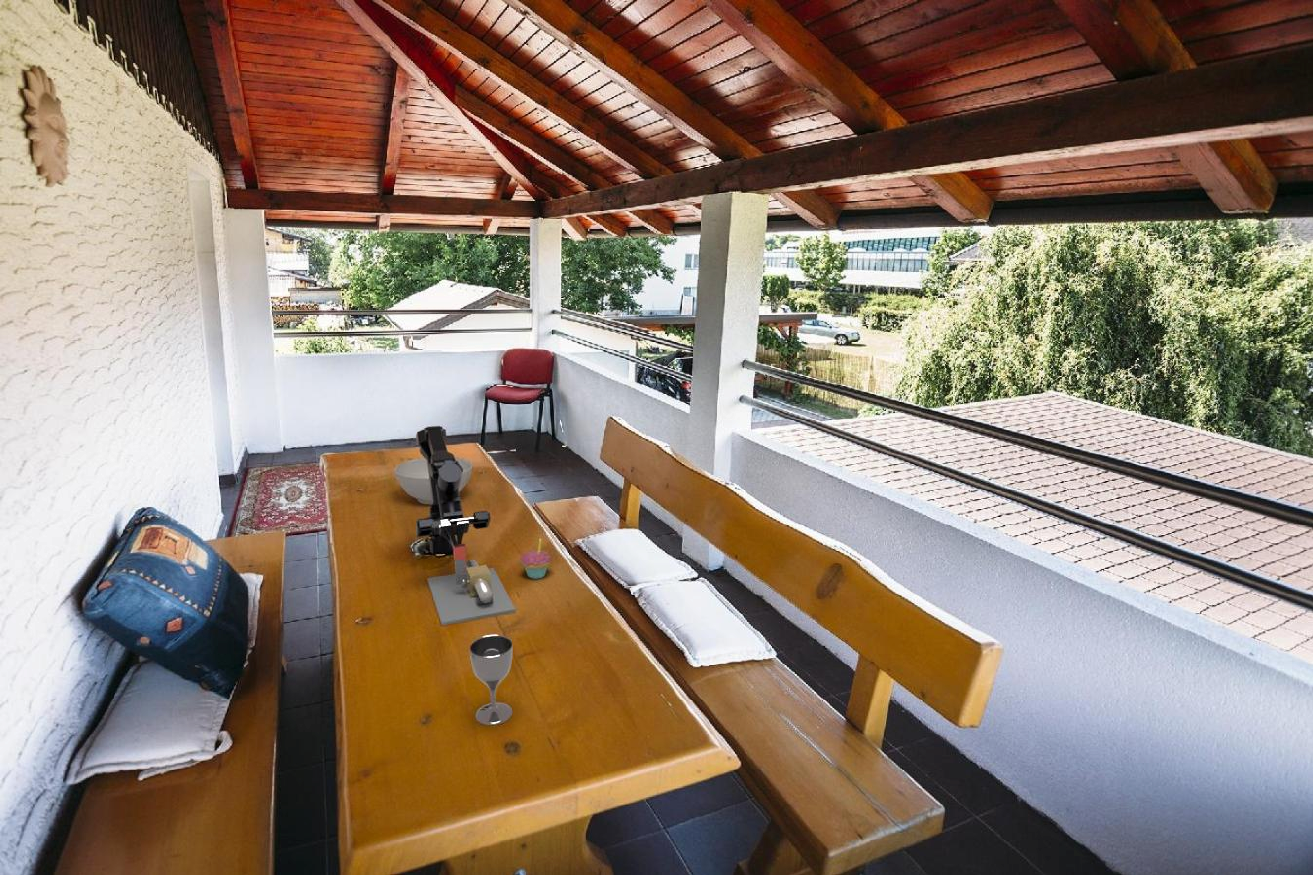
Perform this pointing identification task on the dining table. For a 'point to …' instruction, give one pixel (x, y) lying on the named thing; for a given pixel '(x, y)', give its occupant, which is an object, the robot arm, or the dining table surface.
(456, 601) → the mounting board
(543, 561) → the cupcake
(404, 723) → the dining table surface
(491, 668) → the wine glass
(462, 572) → the valve lever
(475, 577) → the ball valve
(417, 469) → the decorative bowl
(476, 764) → the dining table surface
